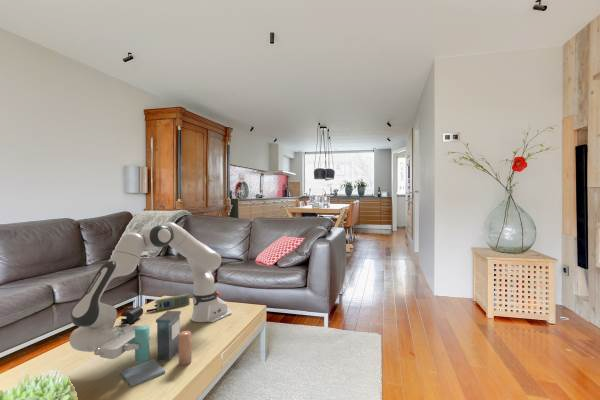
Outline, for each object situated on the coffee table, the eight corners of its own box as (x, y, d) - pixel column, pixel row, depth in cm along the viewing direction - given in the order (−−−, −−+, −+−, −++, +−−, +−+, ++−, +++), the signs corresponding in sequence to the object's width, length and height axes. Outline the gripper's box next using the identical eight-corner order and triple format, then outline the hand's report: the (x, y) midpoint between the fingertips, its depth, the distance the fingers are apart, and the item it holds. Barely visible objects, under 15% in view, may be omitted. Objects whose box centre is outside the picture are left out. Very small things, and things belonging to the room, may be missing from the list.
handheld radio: (190, 304, 197) (147, 314, 182) (188, 303, 200) (145, 312, 185) (189, 294, 197) (146, 302, 182) (188, 293, 200) (145, 301, 185)
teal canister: (145, 354, 123) (144, 324, 123) (152, 358, 121) (151, 327, 121) (132, 359, 119) (132, 328, 119) (139, 363, 117) (139, 332, 116)
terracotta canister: (188, 357, 132) (187, 329, 131) (193, 362, 128) (193, 333, 128) (176, 362, 128) (176, 333, 128) (181, 366, 124) (181, 337, 124)
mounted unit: (168, 348, 140) (167, 310, 139) (181, 349, 139) (180, 311, 139) (156, 360, 130) (155, 319, 129) (170, 360, 129) (170, 319, 129)
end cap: (133, 324, 166) (133, 312, 166) (120, 324, 167) (120, 312, 167) (143, 317, 176) (143, 305, 176) (131, 317, 177) (131, 305, 177)
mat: (153, 361, 129) (153, 359, 129) (165, 373, 120) (165, 370, 120) (121, 373, 120) (121, 371, 120) (131, 386, 112) (131, 384, 112)
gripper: (90, 345, 111) (126, 347, 109) (128, 322, 132) (159, 323, 130) (90, 362, 111) (126, 364, 110) (128, 337, 132) (159, 338, 130)
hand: (144, 342), depth 120 cm, fingers closed on teal canister, 5 cm apart
